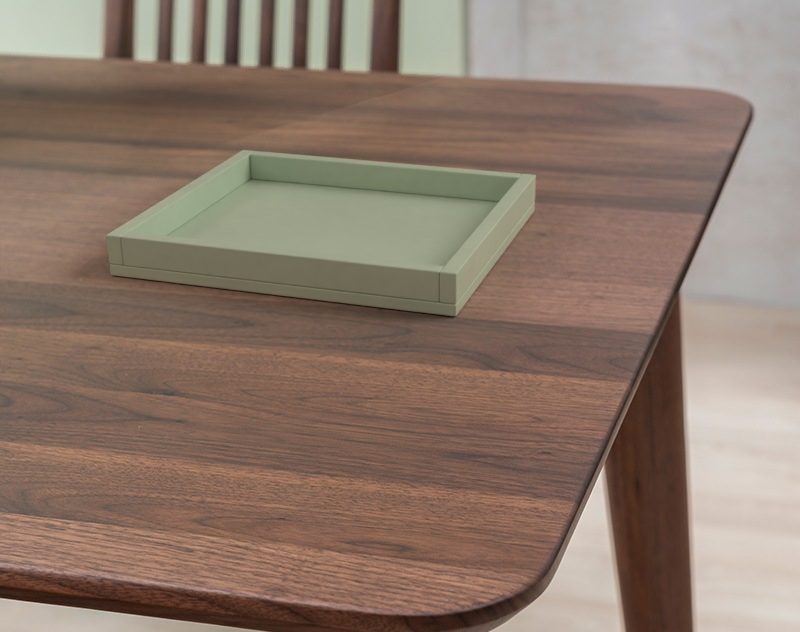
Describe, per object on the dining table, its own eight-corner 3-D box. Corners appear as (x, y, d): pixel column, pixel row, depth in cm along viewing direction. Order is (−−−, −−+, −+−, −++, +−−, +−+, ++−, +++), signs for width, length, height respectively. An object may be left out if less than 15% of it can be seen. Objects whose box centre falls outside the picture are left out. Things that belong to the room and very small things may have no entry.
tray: (110, 275, 61) (105, 234, 61) (244, 184, 75) (242, 149, 74) (455, 317, 56) (456, 273, 55) (534, 211, 70) (536, 174, 69)
